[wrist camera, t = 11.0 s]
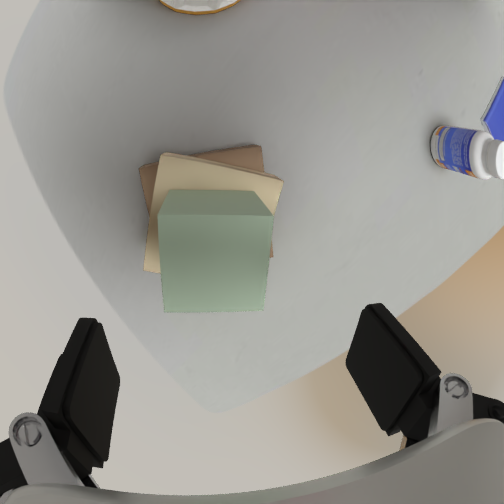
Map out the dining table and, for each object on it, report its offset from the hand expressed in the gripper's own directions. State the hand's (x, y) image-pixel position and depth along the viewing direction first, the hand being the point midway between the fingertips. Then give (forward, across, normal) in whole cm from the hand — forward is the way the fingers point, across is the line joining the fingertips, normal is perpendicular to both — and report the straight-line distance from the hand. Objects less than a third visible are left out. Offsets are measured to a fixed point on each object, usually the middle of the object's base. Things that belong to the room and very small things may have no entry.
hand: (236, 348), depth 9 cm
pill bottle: (+18, -27, -9) cm, 34 cm away
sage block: (+13, 0, 0) cm, 13 cm away
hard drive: (+19, -42, -17) cm, 49 cm away
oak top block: (+16, 0, 0) cm, 16 cm away
